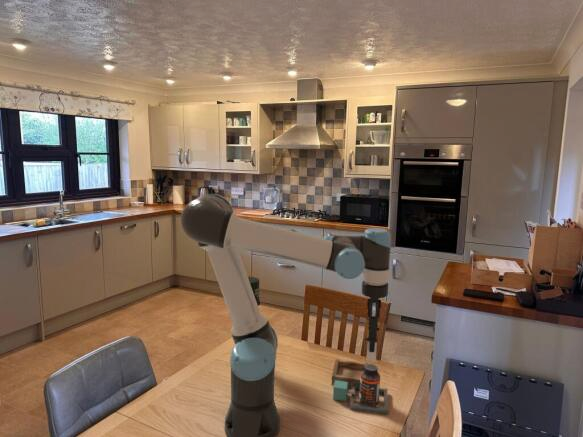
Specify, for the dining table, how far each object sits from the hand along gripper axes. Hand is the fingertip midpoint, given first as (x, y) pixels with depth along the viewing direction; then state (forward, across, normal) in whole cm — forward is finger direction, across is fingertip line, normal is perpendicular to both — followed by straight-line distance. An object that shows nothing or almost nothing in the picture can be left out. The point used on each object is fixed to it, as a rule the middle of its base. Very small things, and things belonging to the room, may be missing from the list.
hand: (371, 355), depth 124 cm
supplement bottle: (+15, 0, 0) cm, 15 cm away
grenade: (+15, -16, -44) cm, 49 cm away
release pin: (+15, 0, -8) cm, 16 cm away
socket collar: (+15, 0, 0) cm, 15 cm away
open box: (+15, -12, -6) cm, 20 cm away
